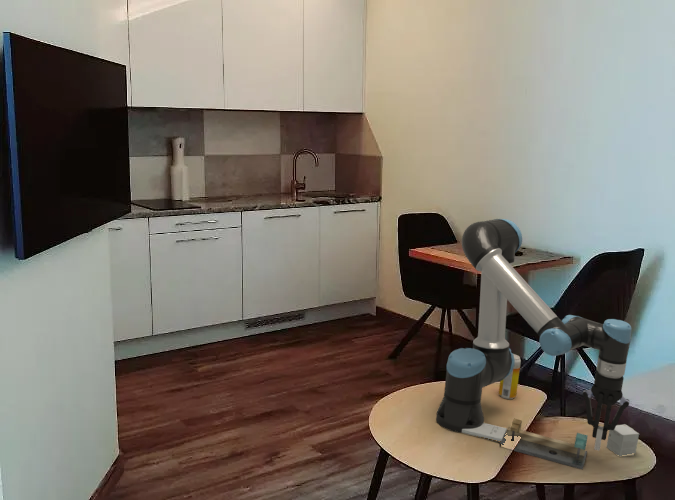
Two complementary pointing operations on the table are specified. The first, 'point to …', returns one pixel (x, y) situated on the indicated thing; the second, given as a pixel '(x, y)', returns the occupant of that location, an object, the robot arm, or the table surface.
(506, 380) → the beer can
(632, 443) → the product box
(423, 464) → the table surface
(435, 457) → the table surface
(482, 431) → the external hard drive
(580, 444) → the block
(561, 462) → the bolt plate
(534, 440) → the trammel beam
